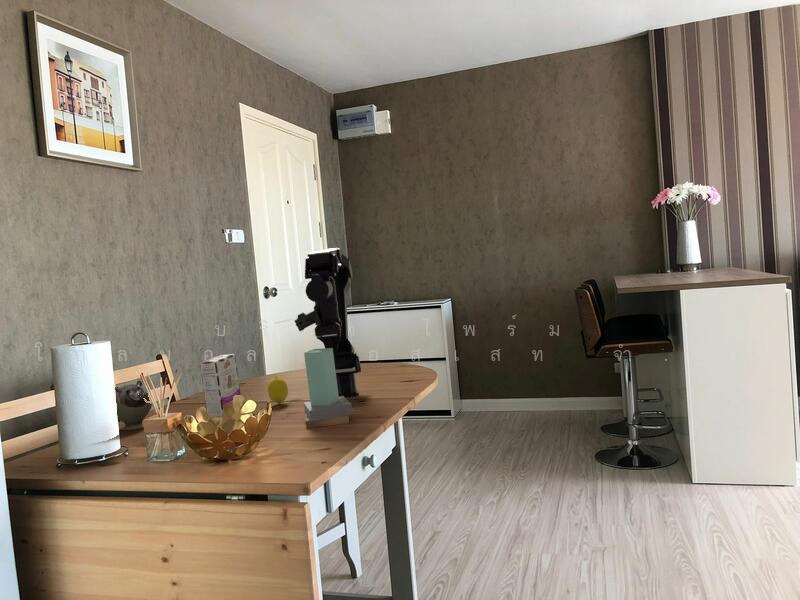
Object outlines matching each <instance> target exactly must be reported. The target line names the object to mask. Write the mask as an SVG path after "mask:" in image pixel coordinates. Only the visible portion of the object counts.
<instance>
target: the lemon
mask: <svg viewBox="0 0 800 600" xmlns="http://www.w3.org/2000/svg"><path fill="white" fill-rule="evenodd" d="M267 394H268V397H269V398H270V400H271V401H272V402H274V403H276V404H278V405H281V404H282V403H283V402H284V401H285V400H286V399H287V398H288V395H289V388H288V384H287V382H286V381H285V380H284V378H282V377H279V376H277V375H276V376H274V378H272V379H271V380H270V381H269V382H268V385H267Z"/></svg>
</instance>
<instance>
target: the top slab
mask: <svg viewBox="0 0 800 600" xmlns="http://www.w3.org/2000/svg"><path fill="white" fill-rule="evenodd" d="M303 408H304V413H305V415H306V417H307V416H308V418H309V419H310V421H316V420H322V419H327V418H332V417H338V416H344V415H349V416H350V415H353V405H352V403H351V402H350V401H349V400H348V399H347V397H346V396H345V397H344V396H340V397H339V401H337V402H335V403H333V404H332V405H330V406H311V402H310V401H305V402H303Z"/></svg>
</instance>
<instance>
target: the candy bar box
mask: <svg viewBox="0 0 800 600" xmlns="http://www.w3.org/2000/svg"><path fill="white" fill-rule="evenodd" d="M237 367H238V366H237V359H236V353H228V354H227V353H226V354H221V355H220V354H219V355H217V356H214V357H211V358H209V359H206V360H205V361H201V362H200V363H199V368H200V373H201V381H202V382H201V383H202V387H203V393H204V402H205V408H206V413H207V412H208V414H209V417H213V416H222V415H223V405H224V404H226V403H230V402H232V400H233V396H234V395H242V394H241V388H240V379H239V374H238V368H237Z"/></svg>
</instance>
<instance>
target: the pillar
mask: <svg viewBox="0 0 800 600" xmlns="http://www.w3.org/2000/svg"><path fill="white" fill-rule="evenodd" d="M303 355H304V361H305V362H304V363H305V369H306V371H305V372H306V379H307V386H308V393H309V402H311V406H330V405H332V404H333V403H335V402H337V401H339V395H338V387H337V379H336V371H335V363H334V356H333V348H325V347H324V348H323V347H322V348H313V349H311V350H308V351H305V352H303Z"/></svg>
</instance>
